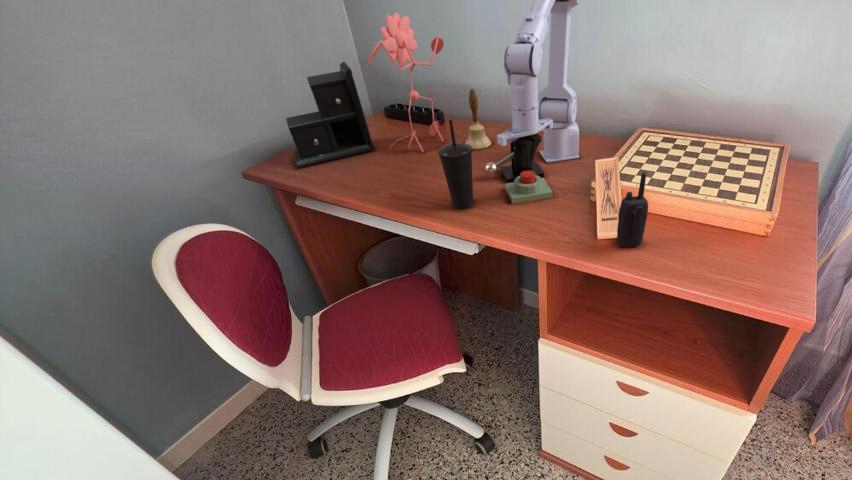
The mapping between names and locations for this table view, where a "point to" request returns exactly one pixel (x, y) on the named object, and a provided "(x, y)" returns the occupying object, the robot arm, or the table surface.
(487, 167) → the tap lever
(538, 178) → the button box
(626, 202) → the two-way radio
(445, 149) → the drinking cup
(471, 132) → the hand bell
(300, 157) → the black drawer organizer
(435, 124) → the figurine
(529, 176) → the button
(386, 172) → the table surface
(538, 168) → the black lever mount
